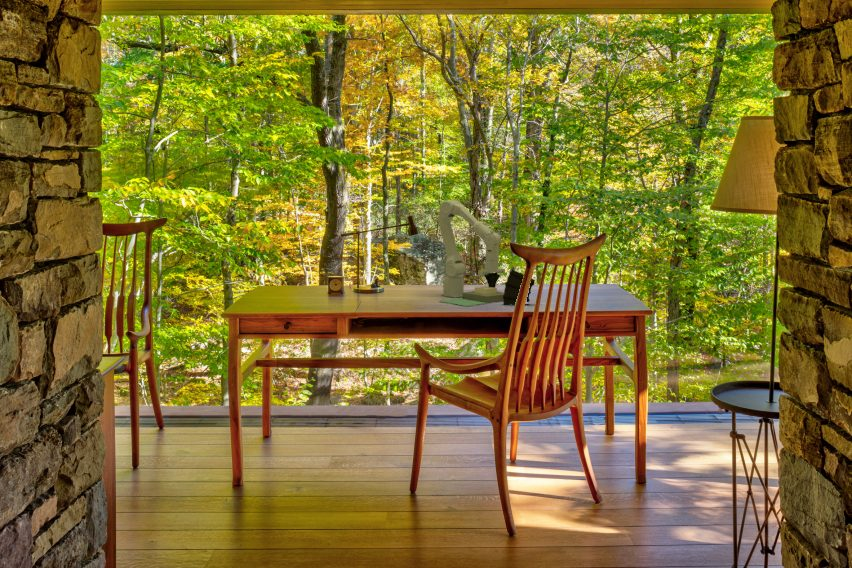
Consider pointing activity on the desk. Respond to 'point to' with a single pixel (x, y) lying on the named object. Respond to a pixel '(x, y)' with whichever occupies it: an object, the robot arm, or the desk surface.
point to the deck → (483, 297)
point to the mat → (463, 302)
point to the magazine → (514, 287)
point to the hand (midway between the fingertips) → (491, 290)
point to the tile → (485, 290)
